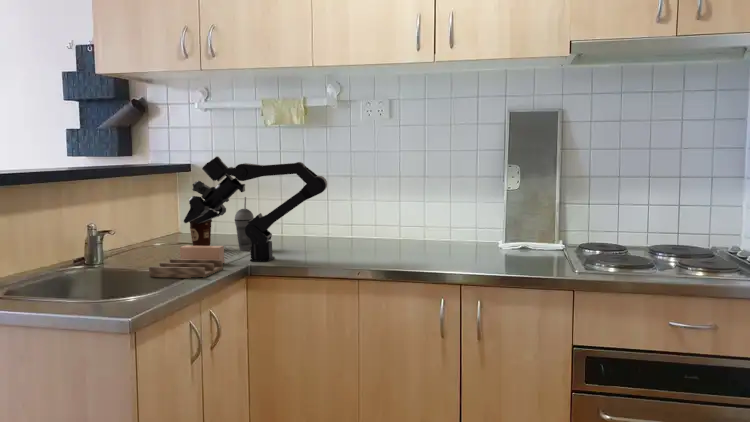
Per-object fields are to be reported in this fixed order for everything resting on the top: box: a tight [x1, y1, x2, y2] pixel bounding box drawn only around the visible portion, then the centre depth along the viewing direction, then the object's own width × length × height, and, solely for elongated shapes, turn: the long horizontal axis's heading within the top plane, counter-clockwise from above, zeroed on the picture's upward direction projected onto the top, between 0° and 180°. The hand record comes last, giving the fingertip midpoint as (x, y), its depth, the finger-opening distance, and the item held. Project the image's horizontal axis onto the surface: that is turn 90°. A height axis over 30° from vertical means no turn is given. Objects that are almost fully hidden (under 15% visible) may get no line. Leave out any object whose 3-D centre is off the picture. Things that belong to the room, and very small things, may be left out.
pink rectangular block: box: [179, 245, 225, 264], centre depth 202 cm, size 14×4×6 cm, turn 78°
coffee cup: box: [189, 218, 213, 246], centre depth 229 cm, size 9×8×13 cm
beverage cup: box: [234, 196, 255, 252], centre depth 225 cm, size 7×7×20 cm
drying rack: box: [148, 258, 224, 279], centre depth 188 cm, size 18×13×3 cm
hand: (190, 222), depth 205 cm, fingers open, 9 cm apart
